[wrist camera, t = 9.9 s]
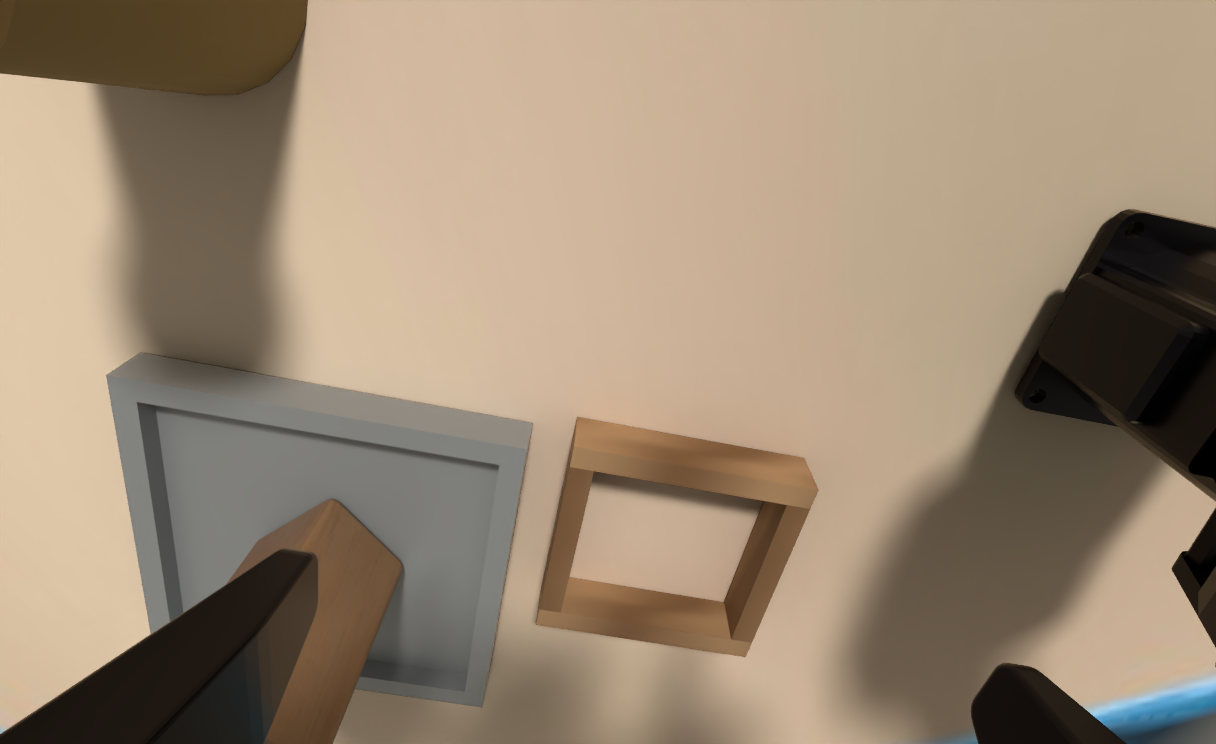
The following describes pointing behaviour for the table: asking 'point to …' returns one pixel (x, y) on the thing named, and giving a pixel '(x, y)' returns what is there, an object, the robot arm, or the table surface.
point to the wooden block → (330, 617)
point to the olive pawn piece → (152, 42)
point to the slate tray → (312, 473)
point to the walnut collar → (692, 467)
